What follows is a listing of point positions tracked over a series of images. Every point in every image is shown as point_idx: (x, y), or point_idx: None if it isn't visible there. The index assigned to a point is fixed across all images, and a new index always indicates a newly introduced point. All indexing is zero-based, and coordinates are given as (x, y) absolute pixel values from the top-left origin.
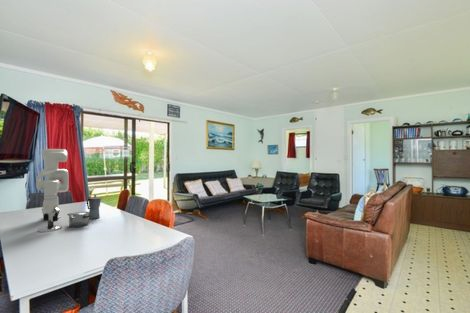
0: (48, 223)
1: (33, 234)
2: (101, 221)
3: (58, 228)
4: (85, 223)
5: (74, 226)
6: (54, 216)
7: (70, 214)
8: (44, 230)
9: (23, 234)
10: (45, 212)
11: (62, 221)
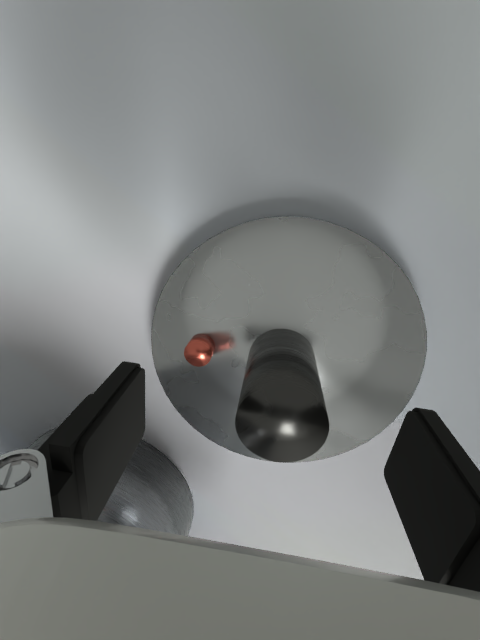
0: (277, 364)
1: (285, 81)
2: None
3: (153, 353)
4: None
5: None
6: (55, 459)
7: None
8: (246, 242)
9: (470, 25)
10: (373, 614)
11: None
